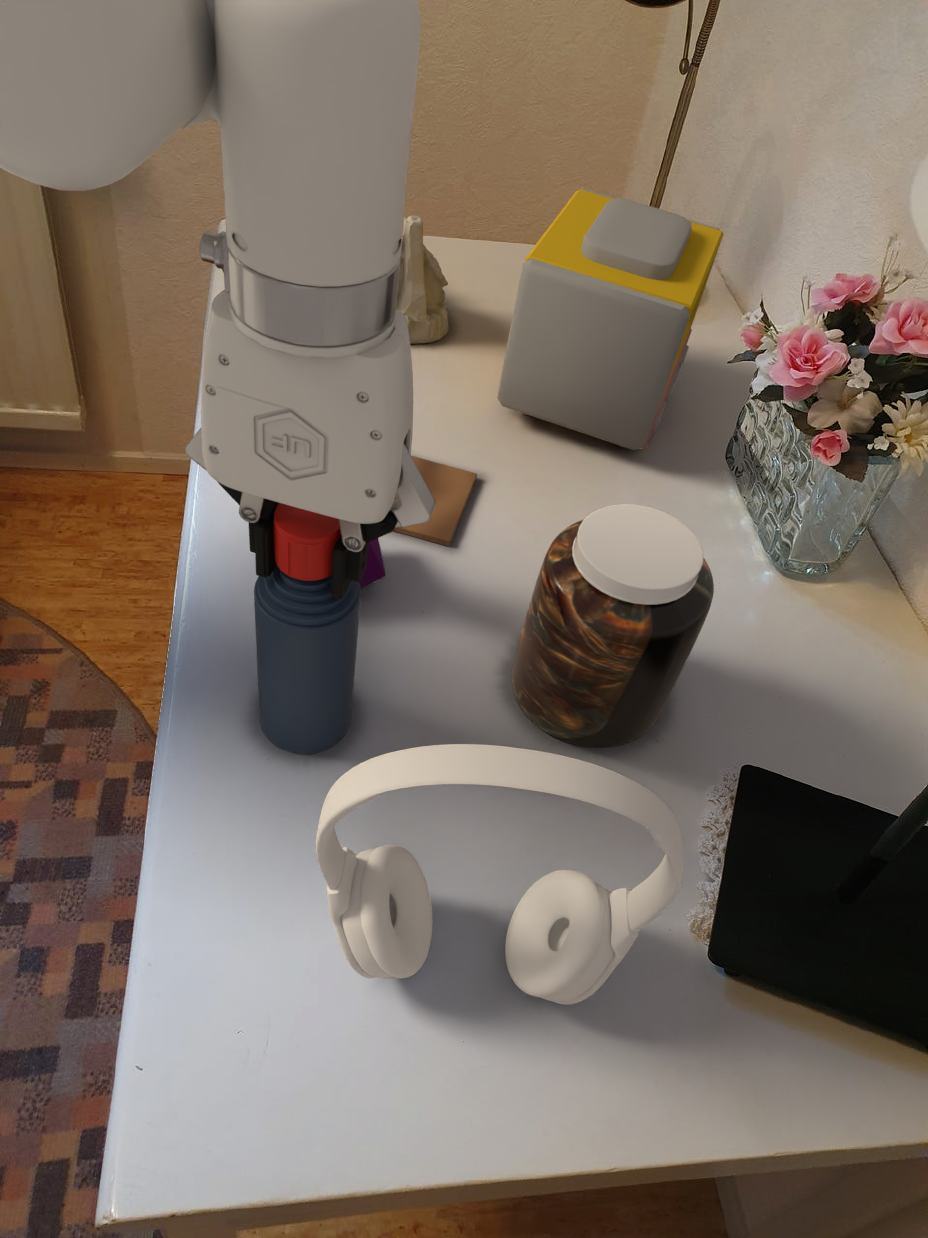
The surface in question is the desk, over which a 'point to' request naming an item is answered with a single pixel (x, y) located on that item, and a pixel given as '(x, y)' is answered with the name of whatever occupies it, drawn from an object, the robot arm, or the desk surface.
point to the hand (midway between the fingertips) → (308, 569)
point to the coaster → (442, 500)
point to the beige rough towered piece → (420, 287)
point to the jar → (611, 625)
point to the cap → (304, 542)
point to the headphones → (547, 913)
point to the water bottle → (305, 660)
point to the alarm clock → (606, 317)
